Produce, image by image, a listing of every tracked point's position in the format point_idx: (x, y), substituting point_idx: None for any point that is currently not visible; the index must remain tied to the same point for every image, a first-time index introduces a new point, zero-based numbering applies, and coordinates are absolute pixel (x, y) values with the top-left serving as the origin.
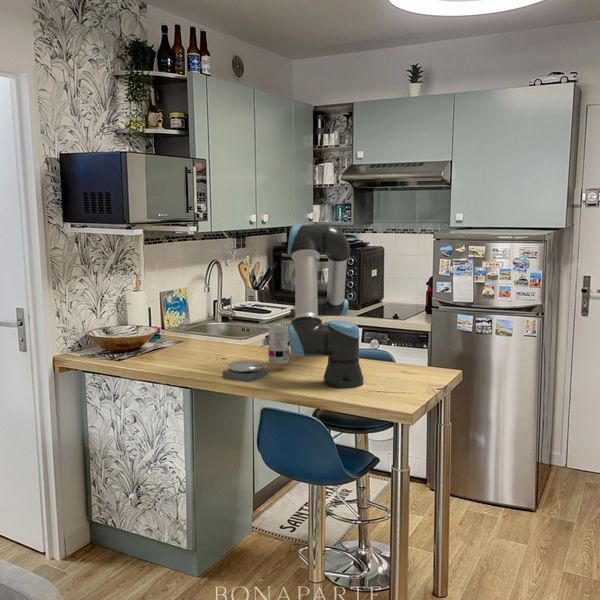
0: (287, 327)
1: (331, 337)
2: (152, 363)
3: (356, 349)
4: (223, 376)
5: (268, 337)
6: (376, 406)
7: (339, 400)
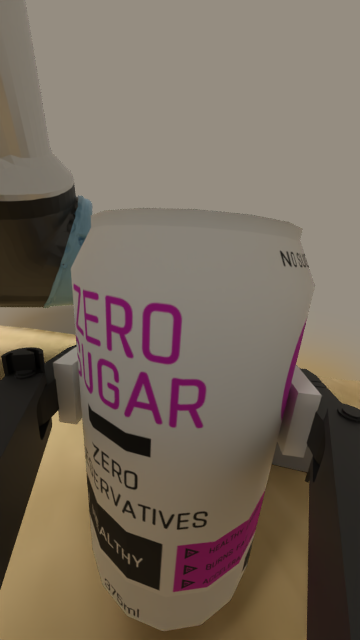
0: (85, 239)
1: None
2: None
3: None
4: None
5: (300, 372)
6: None
7: (8, 329)
